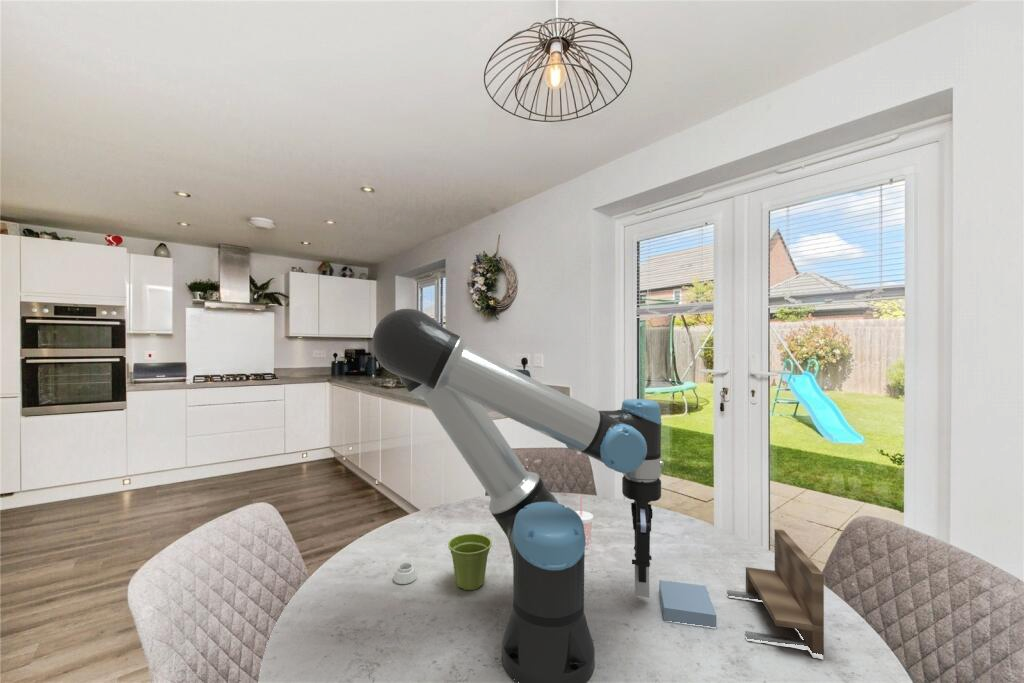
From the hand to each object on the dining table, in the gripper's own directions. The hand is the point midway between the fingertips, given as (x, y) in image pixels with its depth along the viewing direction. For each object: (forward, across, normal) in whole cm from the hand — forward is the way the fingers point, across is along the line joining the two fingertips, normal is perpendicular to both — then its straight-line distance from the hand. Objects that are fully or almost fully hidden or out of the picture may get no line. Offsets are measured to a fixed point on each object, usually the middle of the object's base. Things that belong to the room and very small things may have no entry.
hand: (641, 594), depth 86 cm
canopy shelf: (+2, 0, -23) cm, 23 cm away
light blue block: (+2, 0, -8) cm, 8 cm away
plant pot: (+2, -2, +36) cm, 36 cm away
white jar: (+2, -4, +50) cm, 50 cm away
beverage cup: (+2, +19, +14) cm, 23 cm away
